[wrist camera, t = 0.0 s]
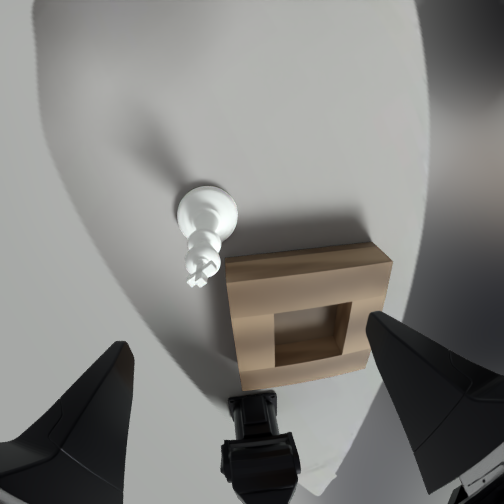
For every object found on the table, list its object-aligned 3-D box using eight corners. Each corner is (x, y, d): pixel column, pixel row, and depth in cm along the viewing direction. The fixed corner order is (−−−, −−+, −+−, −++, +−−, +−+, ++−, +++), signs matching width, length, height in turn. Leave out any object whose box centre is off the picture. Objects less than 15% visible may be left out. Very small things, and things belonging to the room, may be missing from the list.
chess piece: (165, 211, 22) (132, 275, 13) (212, 173, 21) (207, 215, 12) (203, 253, 24) (196, 334, 15) (249, 220, 23) (269, 288, 14)
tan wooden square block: (353, 345, 32) (365, 368, 28) (239, 364, 31) (242, 391, 27) (372, 241, 25) (392, 261, 22) (224, 257, 24) (226, 282, 21)
